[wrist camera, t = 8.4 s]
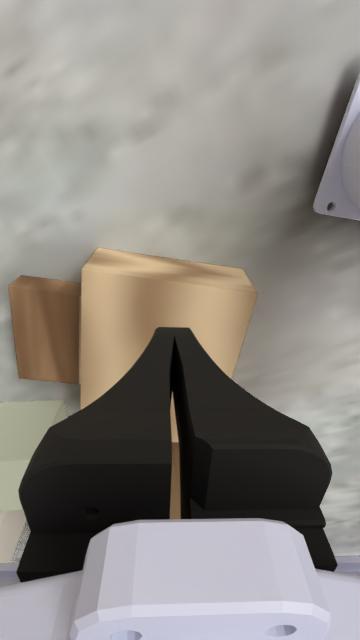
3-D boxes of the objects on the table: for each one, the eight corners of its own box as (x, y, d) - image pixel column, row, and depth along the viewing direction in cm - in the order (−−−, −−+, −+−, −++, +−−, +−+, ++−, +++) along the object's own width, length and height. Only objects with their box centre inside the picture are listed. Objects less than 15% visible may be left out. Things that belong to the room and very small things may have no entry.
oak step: (242, 268, 21) (258, 293, 18) (205, 405, 27) (211, 445, 24) (97, 247, 20) (81, 269, 17) (92, 394, 26) (80, 434, 23)
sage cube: (63, 399, 27) (37, 459, 21) (75, 445, 30) (55, 508, 24) (-7, 401, 27) (-49, 462, 21) (13, 447, 29) (-21, 511, 24)
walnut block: (88, 296, 20) (8, 286, 19) (86, 384, 23) (18, 378, 23) (95, 283, 22) (22, 274, 21) (92, 367, 25) (30, 360, 25)
